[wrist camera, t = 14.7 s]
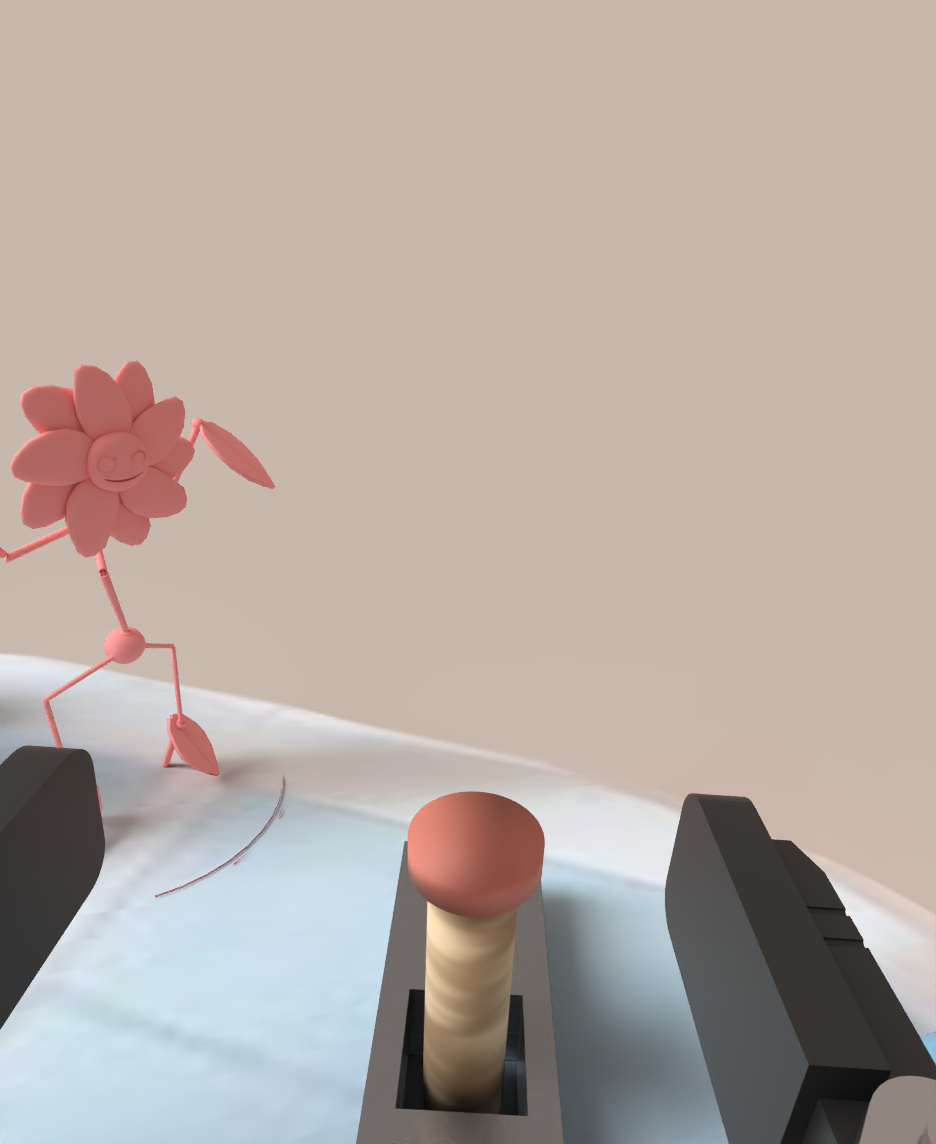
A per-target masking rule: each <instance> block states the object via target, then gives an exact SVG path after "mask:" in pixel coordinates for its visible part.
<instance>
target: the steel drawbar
mask: <svg viewBox="0 0 936 1144" xmlns="http://www.w3.org/2000/svg"><path fill="white" fill-rule="evenodd" d="M407 862H408V841H405V843H404V849H403V855H402V862H401V868H400V874H399V880H398V887H397V893H396V899H395V905H394V911H393V918H392V924H391V930H390V936H389V943H388V949H387V955H386V961H385V968H384V974H383V980H382V986H381V992H380V999H379V1005H378V1011H377V1017H376V1024H375V1030H374V1036H373V1042H372V1048H371V1055H370V1061H369V1067H368V1073H367V1080H366V1086H365V1092H364V1098H363V1104H362V1111H361V1117H360V1123H359V1129H358V1136H357V1142H356V1144H564V1142H563V1130H562V1119H561V1107H560V1095H559V1084H558V1072H557V1061H556V1049H555V1038H554V1026H553V1015H552V1003H551V992H550V980H549V969H548V957H547V946H546V934H545V923H544V911H543V900H542V888H541V880H540V883H539V886H538V888H537V889H536V891H535V893H534V894H533V895H532V896H531V897H530V898H529V899H528V900H527V901H526V902H525V903H524V904H522V905H521V906H519V907H518V909H517V921H516V933H515V945H514V957H513V969H512V981H511V992H510V1004H509V1016H508V1028H507V1040H506V1052H505V1060H511V1061H517V1088H518V1116H515V1115H498V1114H481V1113H464V1112H447V1111H430V1110H413V1109H403V1100H404V1091H405V1082H406V1073H407V1064H408V1055H423V1053H424V1015H425V977H426V939H427V902H428V901H427V900H426V899H424V898H423V897H422V896H421V895H420V894H419V893H418V891H417V890H416V889H415V887H414V886H413V884H412V882H411V880H410V877H409V874H408V866H407Z"/></svg>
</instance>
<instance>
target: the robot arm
mask: <svg viewBox="0 0 936 1144" xmlns="http://www.w3.org/2000/svg"><path fill="white" fill-rule="evenodd" d="M104 852H105V837H104V830H103V824H102V818H101V811H100V805H99V798H98V792H97V786H96V779H95V773H94V766H93V762H92V758H91V756H90V755H89V753H88V752H87V751H86V750H83V749H71V748H57V747H42V746H23V747H20V748H19V749H17V750H16V751H15V752H13V753H12V754H11V755H10V756H9V757H8V758H7V759H6V760H5V761H4V762H3V763H2V764H1V765H0V1029H1V1028H2V1026H3V1025H4V1023H5V1022H6V1020H7V1019H8V1017H9V1016H10V1014H11V1012H12V1011H13V1009H14V1008H15V1006H16V1005H17V1003H18V1002H19V1000H20V999H21V997H22V996H23V994H24V993H25V991H26V990H27V988H28V987H29V985H30V984H31V982H32V980H33V979H34V977H35V976H36V974H37V973H38V971H39V970H40V968H41V967H42V965H43V964H44V962H45V961H46V959H47V958H48V956H49V955H50V953H51V952H52V950H53V949H54V947H55V945H56V944H57V942H58V941H59V939H60V938H61V936H62V935H63V933H64V932H65V930H66V929H67V927H68V926H69V924H70V923H71V921H72V920H73V918H74V917H75V915H76V913H77V912H78V910H79V909H80V907H81V906H82V904H83V903H84V901H85V900H86V898H87V897H88V895H89V894H90V892H91V890H92V889H93V887H94V885H95V883H96V881H97V879H98V876H99V873H100V870H101V867H102V863H103V858H104ZM665 910H666V919H667V925H668V930H669V934H670V938H671V941H672V945H673V948H674V952H675V955H676V959H677V962H678V966H679V969H680V973H681V976H682V980H683V983H684V987H685V990H686V994H687V997H688V1001H689V1005H690V1008H691V1012H692V1015H693V1019H694V1022H695V1026H696V1029H697V1033H698V1036H699V1040H700V1043H701V1047H702V1050H703V1054H704V1057H705V1061H706V1064H707V1068H708V1071H709V1075H710V1078H711V1082H712V1085H713V1089H714V1092H715V1096H716V1100H717V1103H718V1107H719V1110H720V1114H721V1117H722V1121H723V1124H724V1128H725V1131H726V1135H727V1138H728V1142H729V1144H936V1064H935V1062H934V1061H933V1059H932V1057H931V1055H930V1054H929V1052H928V1050H927V1048H926V1047H925V1045H924V1043H923V1042H922V1040H921V1038H920V1036H919V1035H918V1033H917V1031H916V1029H915V1028H914V1026H913V1024H912V1023H911V1021H910V1019H909V1017H908V1016H907V1014H906V1012H905V1011H904V1009H903V1007H902V1005H901V1004H900V1002H899V1000H898V998H897V997H896V995H895V993H894V992H893V990H892V988H891V986H890V985H889V983H888V981H887V979H886V978H885V976H884V974H883V973H882V971H881V969H880V967H879V966H878V964H877V962H876V961H875V959H874V957H873V955H872V954H871V952H870V950H869V948H865V947H864V944H863V938H862V936H861V935H860V933H859V931H858V929H857V928H856V926H855V924H854V923H853V921H852V919H851V917H850V916H846V913H845V907H844V905H843V904H842V902H841V900H840V898H839V897H838V895H837V893H836V892H835V890H834V888H833V886H832V885H831V883H830V881H829V879H828V878H827V876H826V874H825V873H824V872H823V871H822V870H821V869H820V868H819V867H818V866H817V865H816V864H815V863H814V862H813V861H812V860H811V859H810V858H809V857H807V856H806V855H805V854H804V853H803V852H802V851H801V850H800V849H799V848H798V847H797V846H796V845H795V844H794V843H793V842H791V841H788V840H774V839H771V837H770V835H769V833H768V831H767V830H766V827H765V826H764V824H763V822H762V820H761V818H760V816H759V814H758V812H757V810H756V808H755V806H754V805H753V803H752V802H751V801H750V800H749V799H748V798H746V797H736V796H722V795H706V794H689V795H688V796H687V797H686V799H685V801H684V804H683V807H682V812H681V816H680V821H679V825H678V830H677V834H676V839H675V844H674V848H673V853H672V857H671V862H670V866H669V871H668V875H667V880H666V888H665Z"/></svg>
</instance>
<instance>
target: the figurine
mask: <svg viewBox="0 0 936 1144" xmlns="http://www.w3.org/2000/svg"><path fill="white" fill-rule="evenodd" d="M20 406H21V408H22V410H23V412H24V414H25V417H26V418H27V419H28V420H29V422H30V423H31V424H32V425H33V427H34V428H35V429H36V430H37V431H38V432H39V433H40V435H39V436H37V437H35V438H33V439H31V440H30V441H28V442H26V443H25V444H24V445H23V447H22V448H21V449H20V450H19V451H18V452H17V453H16V455H15V456H14V457H13V460H12V462H11V465H10V469H11V471H12V473H13V475H14V477H16V478H18V479H21V480H23V481H26V482H29V483H28V485H27V487H26V489H25V491H24V493H23V496H22V503H21V510H20V515H21V518H22V521H23V524H24V525H26V526H28V527H30V528H33V529H34V528H40V527H46V526H48V525H50V524H52V523H54V522H56V521H58V520H60V519H62V518H64V517H65V522H66V524H67V526H66V527H64V528H62V529H59V530H57V531H55V532H53V533H51V534H48V535H46V536H44V537H42V538H39V539H37V540H35V541H33V542H31V543H28V544H26V545H24V546H22V547H20V548H18V549H15V550H13V551H11V552H9V553H7V552H6V551H4V550H3V549H2V548H0V558H4V557H5V556H6V562H9V561H11V560H14V559H16V558H18V557H20V556H22V555H24V554H27V553H29V552H31V551H33V550H35V549H37V548H40V547H42V546H44V545H46V544H48V543H50V542H52V541H54V540H56V539H59V538H61V537H63V536H65V535H67V534H70V536H71V540H72V541H73V543H74V546H75V548H76V550H77V552H78V553H79V554H81V555H82V556H84V557H89V556H94V555H95V557H96V562H97V566H98V571H99V573H100V575H99V576H100V579H101V581H102V583H103V586H104V588H105V590H106V592H107V595H108V597H109V600H110V602H111V604H112V607H113V609H114V611H115V614H116V616H117V618H118V621H119V623H120V625H121V627H120V628H117V629H115V630H113V631H112V632H111V633H110V634H109V635H108V636H107V638H106V640H105V644H104V648H105V652H106V654H107V656H108V658H106V659H104V660H103V661H101V662H100V663H98V664H97V665H95V666H93V667H92V668H90V669H89V670H87V671H85V672H84V673H82V674H81V675H79V676H78V677H76V678H74V679H73V680H71V681H70V682H68V683H67V684H65V685H63V686H62V687H60V688H59V689H57V690H55V691H54V692H52V693H51V694H49V695H48V696H46V697H44V700H45V701H43V702H42V703H43V706H44V709H45V712H46V716H47V719H48V722H49V725H50V728H51V731H52V734H53V737H54V741H55V744H56V747H57V748H63V746H62V743H61V740H60V737H59V733H58V730H57V727H56V724H55V720H54V717H53V714H52V711H51V707H50V704H49V700H50V699H52V698H54V697H55V696H57V695H58V694H60V693H62V692H63V691H65V690H66V689H68V688H70V687H71V686H73V685H74V684H76V683H78V682H79V681H81V680H82V679H84V678H85V677H87V676H89V675H90V674H92V673H93V672H95V671H97V670H98V669H100V668H101V667H103V666H104V665H106V664H108V663H109V662H111V661H114V662H117V663H121V664H126V663H131V662H133V661H135V660H136V659H138V658H139V657H140V656H141V655H142V653H143V651H144V650H145V648H170V649H171V658H172V667H173V675H174V685H175V694H176V703H177V711H178V714H173V715H171V716H170V718H169V719H168V723H167V732H168V734H169V736H170V738H171V739H170V742H169V745H168V748H167V751H166V754H165V757H164V760H163V763H162V766H163V767H167V766H168V765H169V762H170V759H171V756H172V753H173V750H174V748H175V750H176V751H177V753H178V754H179V755H180V757H181V758H182V760H183V761H184V762H186V763H187V764H188V765H190V766H191V767H192V768H194V769H196V770H198V771H201V772H204V773H207V774H210V775H216V776H217V775H220V773H219V768H218V764H217V760H216V757H215V754H214V751H213V748H212V745H211V743H210V741H209V739H208V737H207V735H206V734H205V732H204V731H203V729H202V728H201V727H200V726H199V725H198V724H197V723H196V722H194V721H193V720H191V719H190V718H188V717H187V716H185V715H183V714H182V707H181V698H180V689H179V680H178V670H177V661H176V651H175V647H174V644H150V643H145V639H144V637H143V635H142V634H141V633H140V632H139V631H138V630H136V629H134V628H131V627H128V626H127V624H126V621H125V618H124V615H123V613H122V610H121V607H120V604H119V602H118V599H117V596H116V593H115V590H114V588H113V585H112V582H111V579H110V577H109V574H108V572H107V568H106V564H105V560H104V556H103V552H102V549H104V548H105V546H106V543H107V541H108V538H109V536H110V535H111V536H112V537H113V538H115V539H117V540H118V541H119V542H122V543H125V544H128V545H131V546H132V545H140V544H141V543H142V542H143V541H144V540H145V539H146V538H147V535H148V532H149V529H150V526H151V525H150V522H149V518H158V517H168V516H171V515H174V514H177V513H179V512H180V511H181V510H183V509H184V508H185V506H186V501H187V497H186V493H185V490H184V487H182V486H181V485H180V484H178V480H179V478H180V476H181V473H182V471H183V470H184V469H185V468H186V467H187V465H188V464H189V462H190V461H191V460H192V458H193V455H194V448H193V445H194V443H195V440H196V438H197V436H198V433H199V431H201V435H202V437H203V439H204V440H205V441H206V443H207V444H208V445H209V446H210V448H211V449H212V450H213V451H214V453H215V454H216V455H217V456H218V457H219V458H220V459H221V460H222V461H223V462H225V463H226V464H227V465H228V466H229V467H230V468H231V469H232V470H234V471H235V472H237V473H239V474H240V475H241V476H243V477H244V478H246V479H247V480H249V481H252V482H254V483H257V484H259V485H262V486H264V487H268V488H271V489H273V488H274V487H275V486H274V484H273V482H272V480H271V479H270V477H269V475H268V474H267V472H266V471H265V469H264V468H263V466H262V465H261V463H260V462H259V461H258V459H257V458H256V457H255V456H254V455H253V454H252V453H251V452H250V451H249V449H248V448H247V447H246V446H245V445H244V444H243V443H242V442H240V441H239V440H238V439H237V438H236V437H234V436H233V435H232V434H231V433H229V432H228V431H226V430H224V429H223V428H221V427H219V426H217V425H216V424H214V423H212V422H205V421H203V420H202V419H200V418H196V419H194V420H193V421H192V426H193V429H192V431H191V434H190V436H189V439H188V440H186V439H184V438H181V437H180V434H181V432H182V429H183V427H184V417H185V409H184V405H183V401H181V400H180V399H178V398H177V397H172V398H169V399H166V400H164V401H162V402H160V403H157V404H155V405H154V396H153V389H152V383H151V381H150V379H149V377H148V375H147V372H146V370H145V368H144V367H143V366H142V365H141V364H140V363H139V362H138V361H127V362H126V363H125V364H124V365H123V367H122V368H121V369H120V370H119V371H118V373H117V374H116V376H115V378H114V379H112V378H111V377H110V375H109V374H107V373H106V372H104V371H102V370H100V369H99V368H97V367H95V366H91V365H82V364H81V365H80V366H79V367H78V368H77V369H76V370H74V371H73V390H72V389H68V388H64V387H59V386H54V385H45V386H34V387H32V388H30V389H29V390H27V391H25V392H23V393H22V396H21V401H20ZM96 786H97V785H96ZM97 792H98V798H99V805H100V811H101V809H102V804H101V799H100V794H99V789H98V787H97ZM281 792H282V790H281ZM280 797H281V795H280ZM279 801H280V799H279ZM278 804H279V803H278ZM277 806H278V805H277ZM283 806H284V805H283ZM276 809H277V807H276ZM276 809H275V811H276ZM275 811H274V813H275ZM281 811H282V810H281ZM280 813H281V812H280ZM273 815H274V814H273ZM279 816H280V814H279ZM272 817H273V816H272ZM272 817H271V819H272ZM278 818H279V817H278ZM271 819H270V820H271ZM270 820H269V821H268V823H269V822H270ZM268 823H267V824H268ZM267 824H266V826H267ZM266 826H265V827H266ZM265 827H264V829H265ZM264 829H263V830H264ZM263 830H262V831H261V832H260V833H259V834H258V835H257V837H258V836H259V835H260V834H261V833H262V832H263ZM257 837H256V838H257ZM256 838H255V839H256ZM255 839H254V840H255ZM254 840H253V841H254ZM253 841H252V842H253ZM252 842H251V843H252ZM251 843H250V844H251ZM250 844H249V845H250ZM249 845H248V846H249ZM248 846H247V847H248ZM247 847H245V848H244V849H243V850H242V851H244V850H245V849H246V848H247ZM242 851H240V852H239V853H238V854H237V855H239V854H240V853H241V852H242ZM247 853H248V852H247ZM247 853H246V854H247ZM246 854H245V855H246ZM237 855H235V856H234V857H233V858H232V859H234V858H235V857H236V856H237ZM245 855H244V856H245ZM242 857H243V856H242ZM242 857H241V858H242ZM241 858H240V859H241ZM232 859H230V860H229V861H227V862H226V863H224V864H223V865H221V866H219V867H218V868H216V869H215V870H213V871H211V872H210V873H208V874H206V875H204V876H202V877H200V878H198V879H196V880H194V881H192V882H190V883H188V884H185V885H183V886H181V887H178V888H175V889H173V890H170V891H167V892H164V893H162V894H159V895H156V896H155V897H158V896H161V895H164V894H166V893H169V892H172V891H175V890H177V889H180V888H183V887H185V886H187V885H189V884H191V883H193V882H195V881H197V880H199V879H201V878H203V877H206V876H208V875H209V874H211V873H212V872H214V871H216V870H217V869H219V868H220V867H222V866H224V865H225V864H227V863H228V862H230V861H231V860H232ZM240 859H239V860H240ZM239 860H237V861H236V862H235V863H234V864H236V863H237V862H238V861H239Z"/></svg>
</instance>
